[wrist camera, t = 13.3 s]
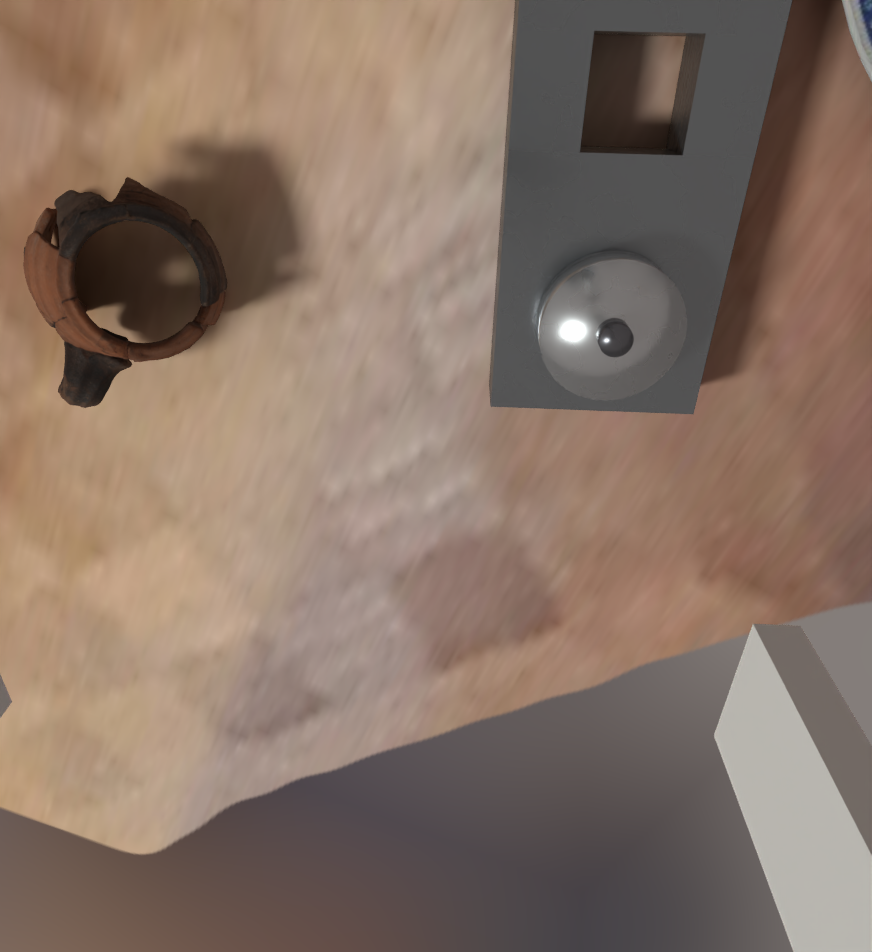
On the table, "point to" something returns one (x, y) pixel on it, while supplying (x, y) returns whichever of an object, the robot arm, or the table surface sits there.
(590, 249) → the block
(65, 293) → the broken brown mug
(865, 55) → the ceramic plate
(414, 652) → the table surface
